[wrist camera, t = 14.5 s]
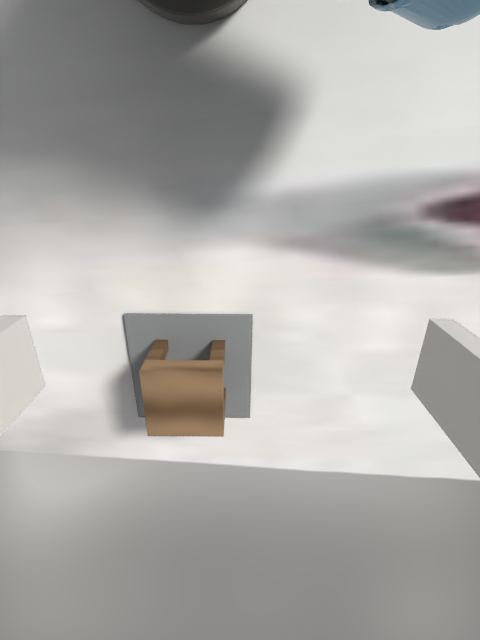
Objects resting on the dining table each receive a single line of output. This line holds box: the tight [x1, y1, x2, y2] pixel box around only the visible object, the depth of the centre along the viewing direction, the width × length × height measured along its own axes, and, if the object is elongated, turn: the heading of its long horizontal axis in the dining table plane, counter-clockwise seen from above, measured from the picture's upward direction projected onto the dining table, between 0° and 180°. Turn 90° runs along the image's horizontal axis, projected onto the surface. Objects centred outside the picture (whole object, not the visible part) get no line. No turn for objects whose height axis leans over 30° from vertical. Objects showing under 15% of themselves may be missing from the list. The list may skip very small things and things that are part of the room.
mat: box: [124, 313, 252, 418], centre depth 45 cm, size 16×16×1 cm
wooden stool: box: [139, 340, 226, 436], centre depth 41 cm, size 9×9×8 cm
